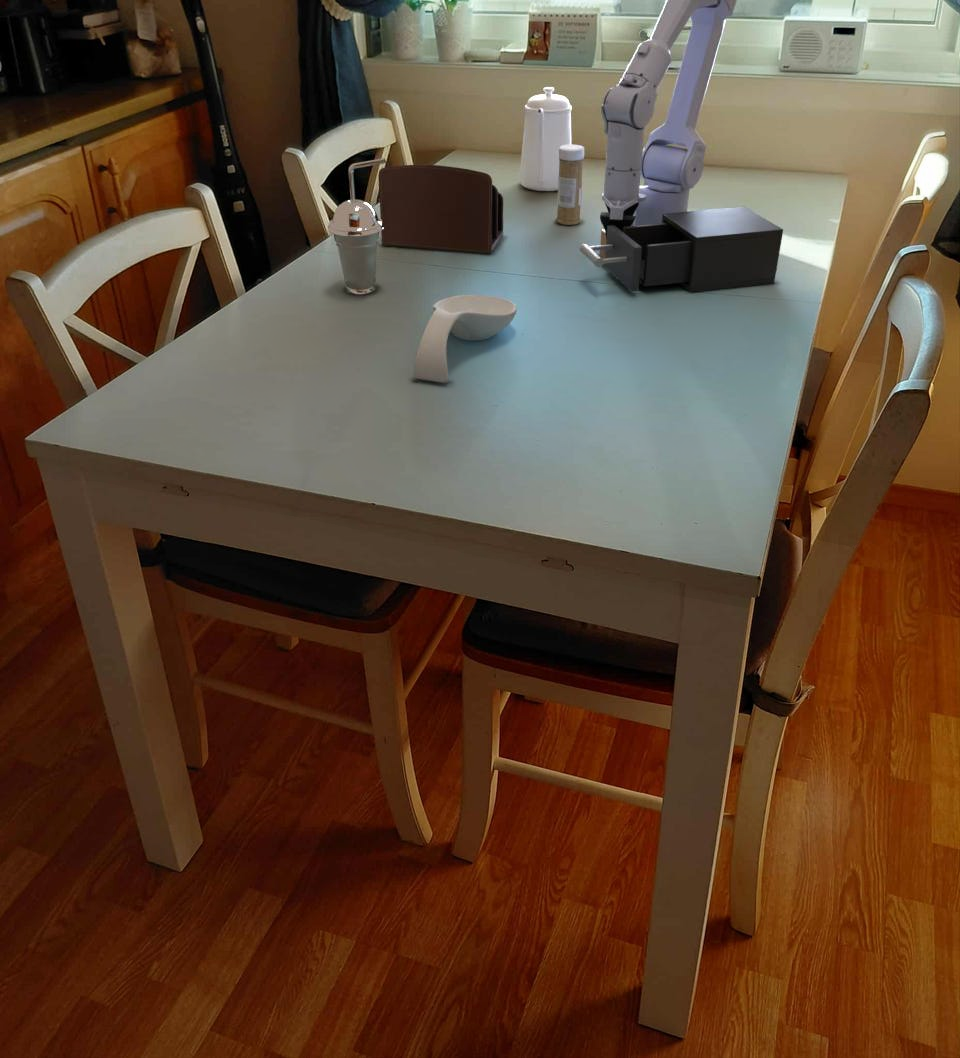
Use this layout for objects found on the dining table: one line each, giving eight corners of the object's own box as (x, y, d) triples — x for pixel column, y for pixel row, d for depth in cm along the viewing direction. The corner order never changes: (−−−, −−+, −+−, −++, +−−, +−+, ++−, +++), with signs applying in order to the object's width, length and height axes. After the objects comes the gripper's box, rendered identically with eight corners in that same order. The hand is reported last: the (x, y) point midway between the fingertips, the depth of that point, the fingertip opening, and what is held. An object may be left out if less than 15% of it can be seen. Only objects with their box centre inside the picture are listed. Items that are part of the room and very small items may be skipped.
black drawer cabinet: (689, 292, 152) (696, 237, 148) (657, 265, 162) (662, 213, 158) (774, 283, 155) (783, 229, 151) (737, 257, 166) (744, 206, 161)
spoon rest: (450, 312, 146) (449, 265, 142) (526, 321, 143) (527, 273, 139) (390, 378, 128) (386, 326, 124) (475, 390, 125) (475, 337, 121)
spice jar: (585, 222, 182) (589, 146, 174) (569, 227, 179) (572, 151, 172) (567, 216, 185) (570, 142, 177) (550, 222, 182) (553, 146, 174)
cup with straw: (355, 276, 159) (345, 147, 148) (401, 286, 155) (394, 155, 144) (322, 292, 153) (309, 160, 142) (369, 303, 149) (359, 168, 138)
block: (608, 263, 163) (610, 237, 161) (599, 255, 167) (601, 229, 164) (633, 261, 164) (635, 235, 162) (623, 252, 168) (625, 227, 165)
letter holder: (491, 255, 167) (491, 169, 159) (380, 246, 171) (375, 163, 163) (503, 236, 175) (504, 155, 167) (398, 229, 179) (393, 148, 171)
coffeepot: (508, 201, 193) (510, 99, 182) (529, 169, 213) (531, 75, 202) (563, 204, 191) (567, 101, 180) (578, 171, 211) (583, 77, 201)
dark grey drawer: (598, 295, 149) (601, 251, 145) (573, 270, 158) (575, 228, 154) (711, 283, 153) (717, 240, 149) (680, 259, 162) (685, 218, 158)
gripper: (645, 180, 150) (637, 266, 158) (651, 156, 162) (644, 238, 170) (599, 177, 152) (593, 263, 159) (608, 154, 163) (603, 235, 171)
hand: (616, 250), depth 165 cm, fingers closed on block, 6 cm apart
